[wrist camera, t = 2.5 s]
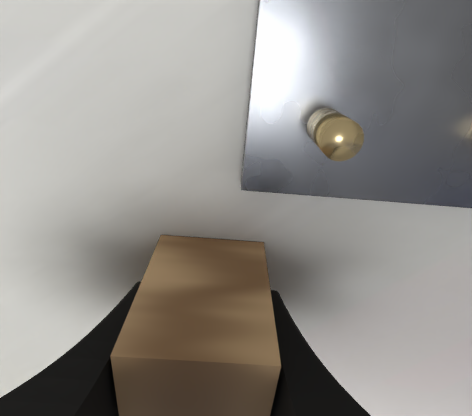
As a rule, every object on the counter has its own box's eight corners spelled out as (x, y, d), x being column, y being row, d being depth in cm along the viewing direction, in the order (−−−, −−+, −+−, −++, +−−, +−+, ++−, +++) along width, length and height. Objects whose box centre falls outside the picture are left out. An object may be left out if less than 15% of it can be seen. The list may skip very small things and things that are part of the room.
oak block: (263, 242, 14) (281, 365, 8) (252, 317, 16) (261, 455, 10) (160, 234, 13) (110, 356, 8) (163, 311, 15) (123, 449, 10)
